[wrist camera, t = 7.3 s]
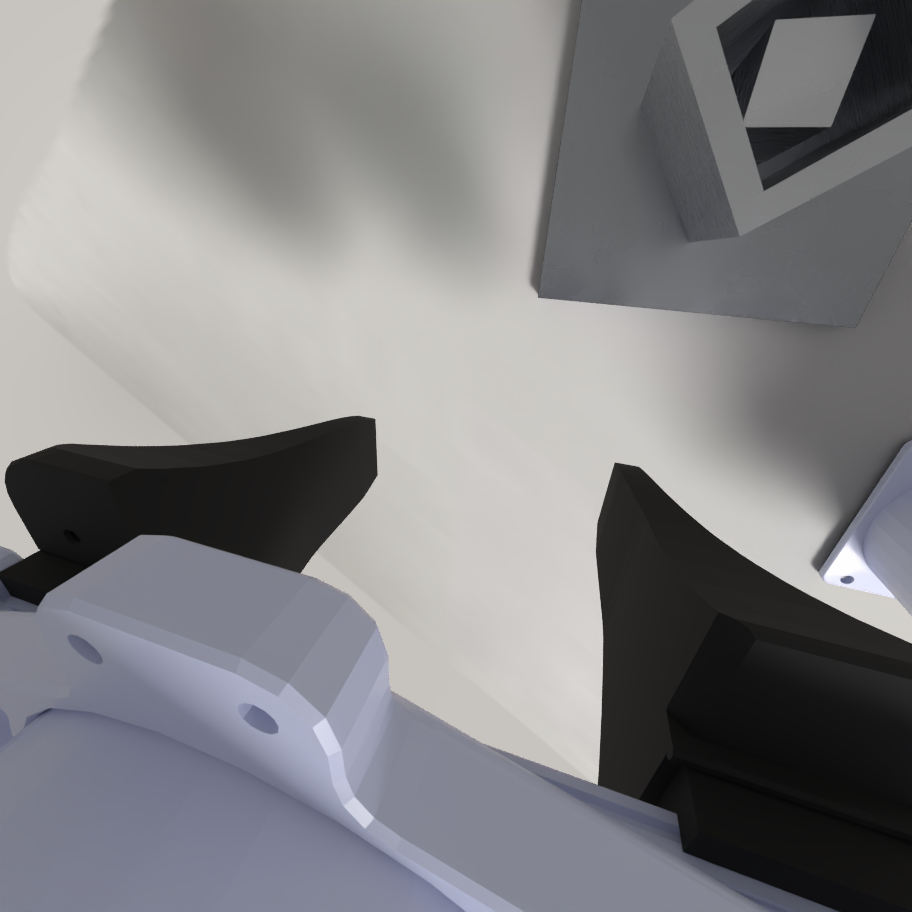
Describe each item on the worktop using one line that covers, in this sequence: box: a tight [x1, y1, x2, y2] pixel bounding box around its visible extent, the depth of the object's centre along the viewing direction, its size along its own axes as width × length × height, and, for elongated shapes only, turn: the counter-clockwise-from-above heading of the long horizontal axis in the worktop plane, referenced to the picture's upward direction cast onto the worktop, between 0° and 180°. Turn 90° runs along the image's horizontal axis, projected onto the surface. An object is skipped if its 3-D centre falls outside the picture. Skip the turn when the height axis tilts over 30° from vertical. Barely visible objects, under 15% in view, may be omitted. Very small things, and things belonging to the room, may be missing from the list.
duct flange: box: [538, 0, 912, 328], centre depth 12 cm, size 12×12×5 cm
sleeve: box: [640, 0, 912, 243], centre depth 11 cm, size 5×5×6 cm
